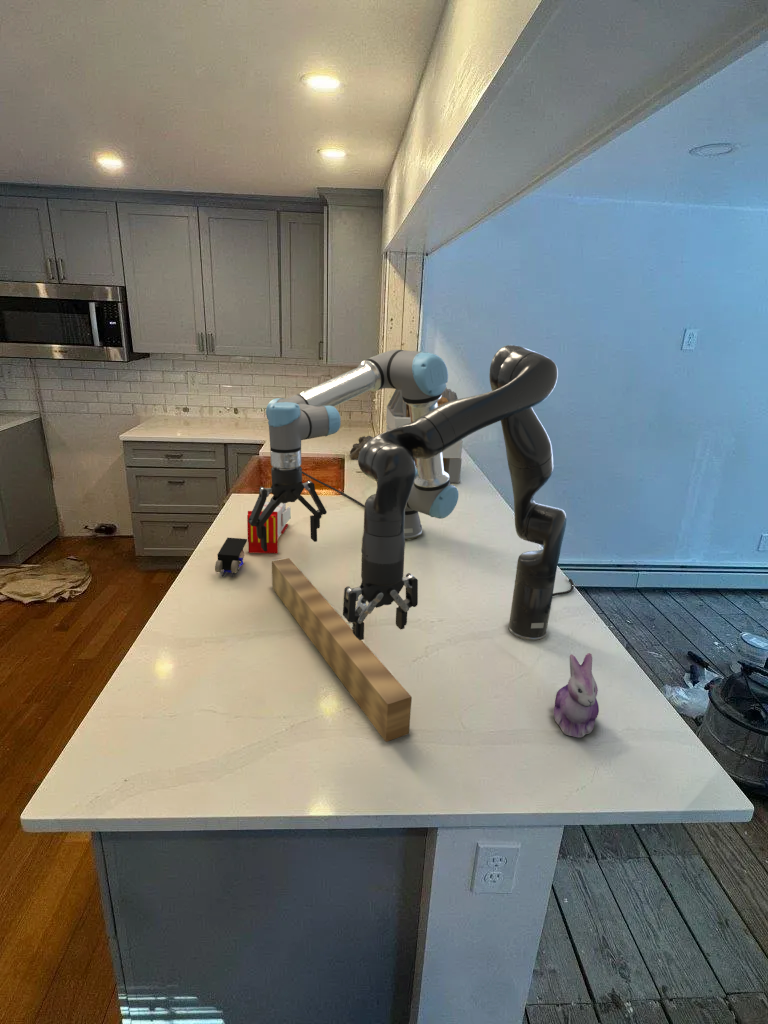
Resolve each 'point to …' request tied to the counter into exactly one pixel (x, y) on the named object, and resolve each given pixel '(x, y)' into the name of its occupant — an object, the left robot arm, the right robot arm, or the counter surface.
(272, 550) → the toy
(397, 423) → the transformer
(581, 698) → the figurine
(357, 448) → the fossil
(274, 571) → the bar
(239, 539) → the figurine character
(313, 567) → the counter surface
